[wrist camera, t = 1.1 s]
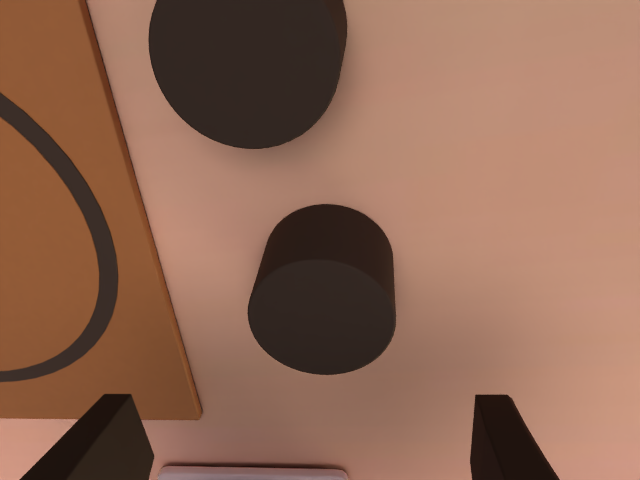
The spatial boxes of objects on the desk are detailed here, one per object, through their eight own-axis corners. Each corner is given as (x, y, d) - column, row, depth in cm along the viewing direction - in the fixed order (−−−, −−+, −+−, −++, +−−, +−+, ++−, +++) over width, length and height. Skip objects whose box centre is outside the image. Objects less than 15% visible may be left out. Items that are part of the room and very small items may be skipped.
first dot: (394, 309, 18) (397, 375, 16) (274, 310, 19) (258, 376, 16) (392, 201, 16) (394, 258, 14) (257, 205, 17) (236, 262, 14)
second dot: (351, 101, 15) (346, 145, 12) (205, 110, 15) (171, 154, 13) (341, -70, 13) (333, -60, 10) (172, -54, 13) (124, -41, 11)
